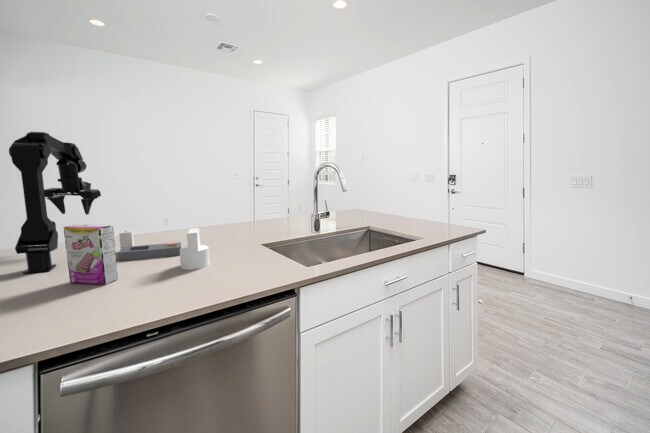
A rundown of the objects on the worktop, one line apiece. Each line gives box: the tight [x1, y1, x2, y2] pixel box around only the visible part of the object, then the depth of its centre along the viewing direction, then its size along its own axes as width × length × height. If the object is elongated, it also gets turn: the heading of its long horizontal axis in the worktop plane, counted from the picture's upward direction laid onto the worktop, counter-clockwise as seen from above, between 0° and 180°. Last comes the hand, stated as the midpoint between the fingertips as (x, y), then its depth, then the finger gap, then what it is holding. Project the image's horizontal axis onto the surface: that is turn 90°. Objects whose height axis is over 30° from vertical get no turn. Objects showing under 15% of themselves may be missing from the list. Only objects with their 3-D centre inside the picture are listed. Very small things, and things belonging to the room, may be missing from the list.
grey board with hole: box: [117, 242, 182, 262], centre depth 119 cm, size 9×26×4 cm, turn 116°
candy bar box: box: [63, 223, 119, 286], centre depth 88 cm, size 11×5×16 cm, turn 84°
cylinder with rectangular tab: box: [179, 227, 210, 271], centre depth 104 cm, size 9×9×12 cm
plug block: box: [118, 230, 135, 249], centre depth 121 cm, size 4×4×8 cm
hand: (75, 214), depth 126 cm, fingers open, 9 cm apart
